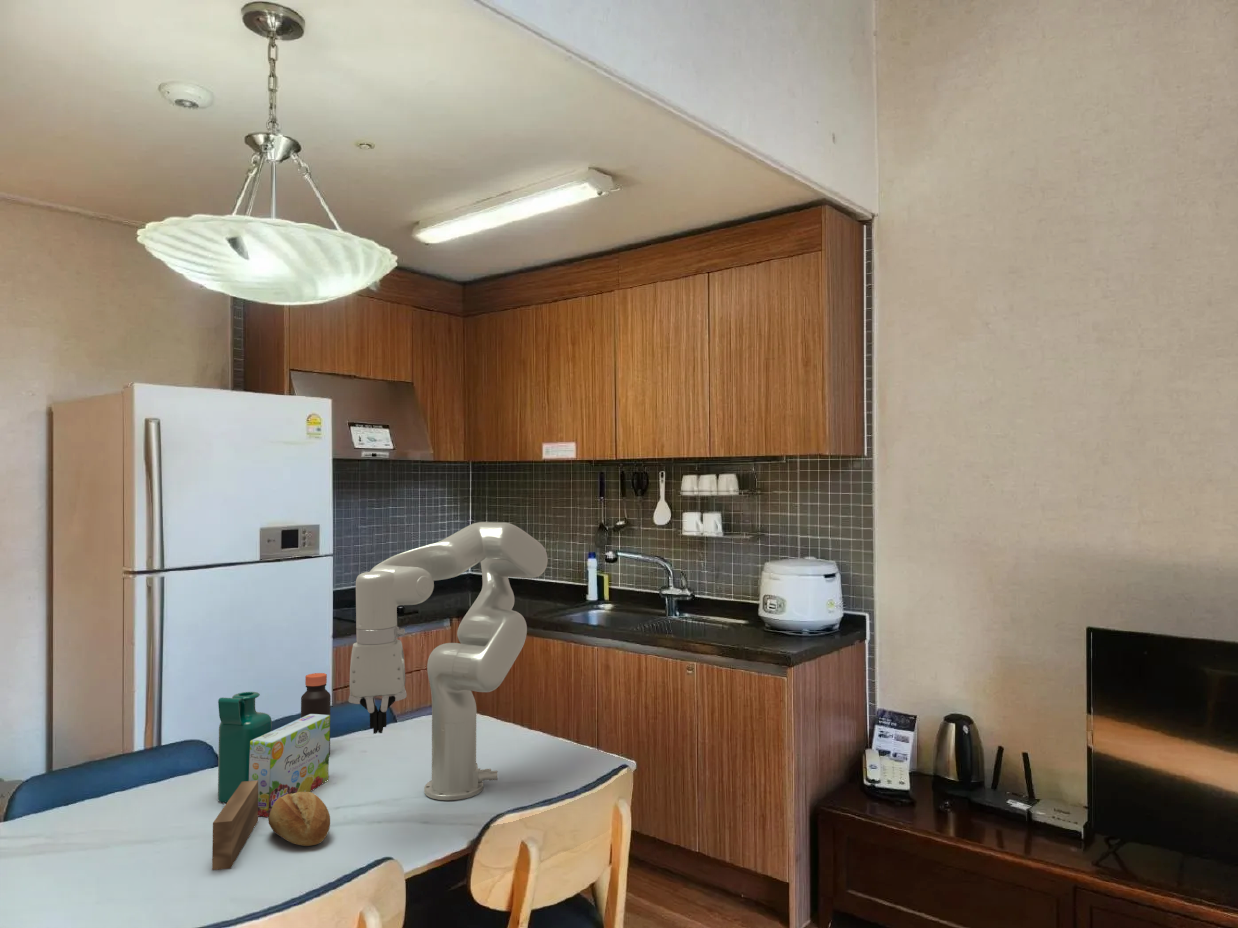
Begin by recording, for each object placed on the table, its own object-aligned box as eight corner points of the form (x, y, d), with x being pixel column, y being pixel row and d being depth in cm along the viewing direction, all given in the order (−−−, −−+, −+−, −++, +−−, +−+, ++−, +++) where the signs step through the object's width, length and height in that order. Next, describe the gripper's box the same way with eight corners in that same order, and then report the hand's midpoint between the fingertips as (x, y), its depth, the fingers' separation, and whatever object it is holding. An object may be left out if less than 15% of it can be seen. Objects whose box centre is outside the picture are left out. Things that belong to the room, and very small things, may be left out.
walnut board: (257, 821, 155) (258, 780, 156) (231, 868, 136) (231, 820, 136) (241, 822, 155) (241, 781, 155) (212, 869, 135) (212, 822, 136)
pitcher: (240, 787, 173) (242, 686, 174) (274, 790, 172) (276, 688, 173) (208, 804, 164) (210, 698, 165) (244, 808, 162) (246, 700, 163)
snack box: (271, 818, 157) (272, 741, 158) (246, 816, 158) (247, 740, 159) (330, 780, 178) (331, 713, 178) (308, 779, 179) (308, 711, 180)
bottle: (294, 758, 193) (295, 675, 193) (319, 750, 198) (320, 670, 199) (311, 763, 189) (312, 679, 190) (335, 755, 194) (336, 674, 195)
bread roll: (291, 858, 139) (291, 813, 140) (256, 834, 150) (256, 791, 150) (342, 841, 146) (342, 797, 147) (305, 819, 157) (306, 778, 157)
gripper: (417, 629, 157) (418, 721, 157) (338, 634, 154) (340, 728, 154) (416, 637, 150) (417, 733, 150) (333, 642, 147) (334, 741, 147)
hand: (378, 730), depth 152 cm, fingers closed
